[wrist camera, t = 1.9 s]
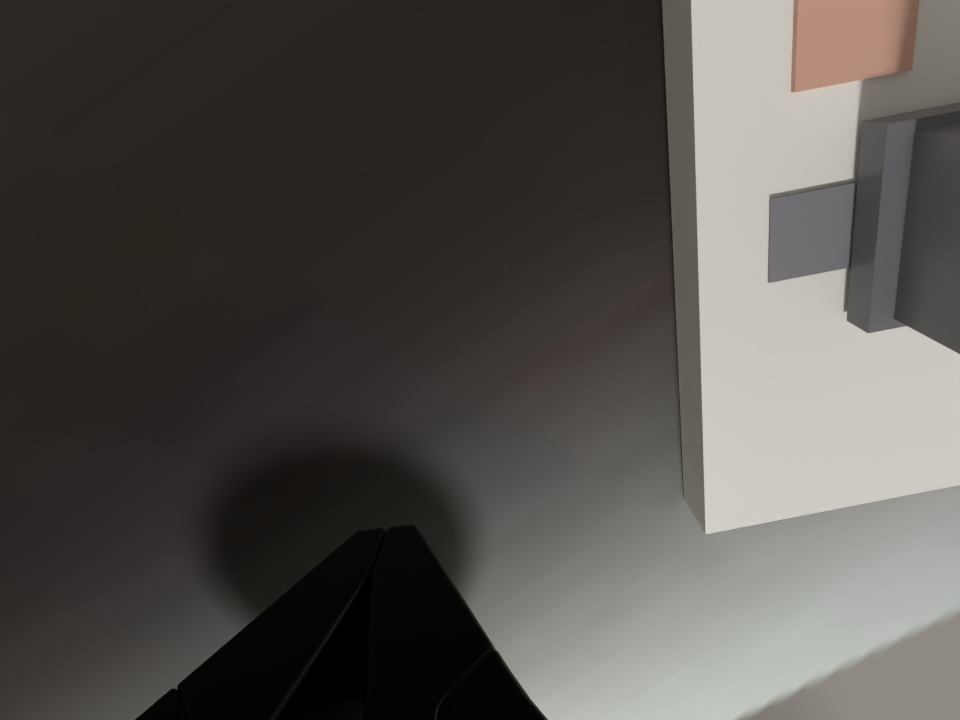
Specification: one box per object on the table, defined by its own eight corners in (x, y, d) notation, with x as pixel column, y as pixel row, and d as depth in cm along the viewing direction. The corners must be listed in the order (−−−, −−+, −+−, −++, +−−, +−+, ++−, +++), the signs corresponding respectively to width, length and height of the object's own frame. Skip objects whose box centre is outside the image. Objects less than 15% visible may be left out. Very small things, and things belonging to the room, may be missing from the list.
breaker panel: (684, 498, 24) (708, 538, 22) (654, -167, 15) (689, -201, 13) (1052, 427, 24) (1109, 460, 22) (1222, -274, 16) (1340, -323, 14)
